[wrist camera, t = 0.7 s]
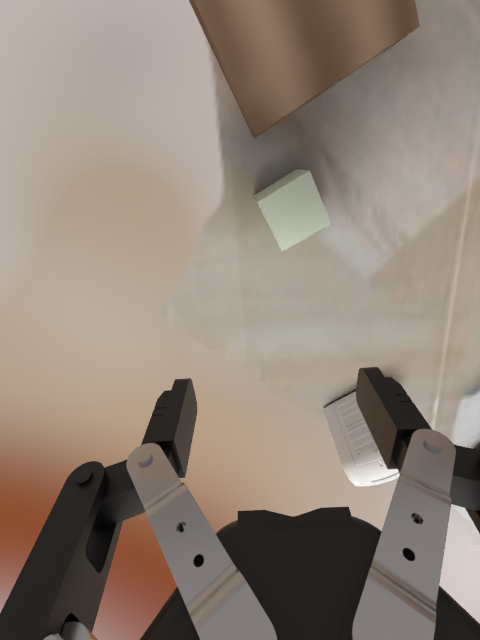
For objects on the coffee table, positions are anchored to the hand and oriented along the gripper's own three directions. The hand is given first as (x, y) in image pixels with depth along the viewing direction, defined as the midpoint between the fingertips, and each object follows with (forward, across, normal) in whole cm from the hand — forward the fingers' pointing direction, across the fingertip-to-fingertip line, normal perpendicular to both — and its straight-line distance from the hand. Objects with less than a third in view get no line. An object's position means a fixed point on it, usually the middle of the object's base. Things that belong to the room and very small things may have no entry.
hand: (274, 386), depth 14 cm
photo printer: (+23, -14, +24) cm, 36 cm away
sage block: (+23, -3, -5) cm, 23 cm away
